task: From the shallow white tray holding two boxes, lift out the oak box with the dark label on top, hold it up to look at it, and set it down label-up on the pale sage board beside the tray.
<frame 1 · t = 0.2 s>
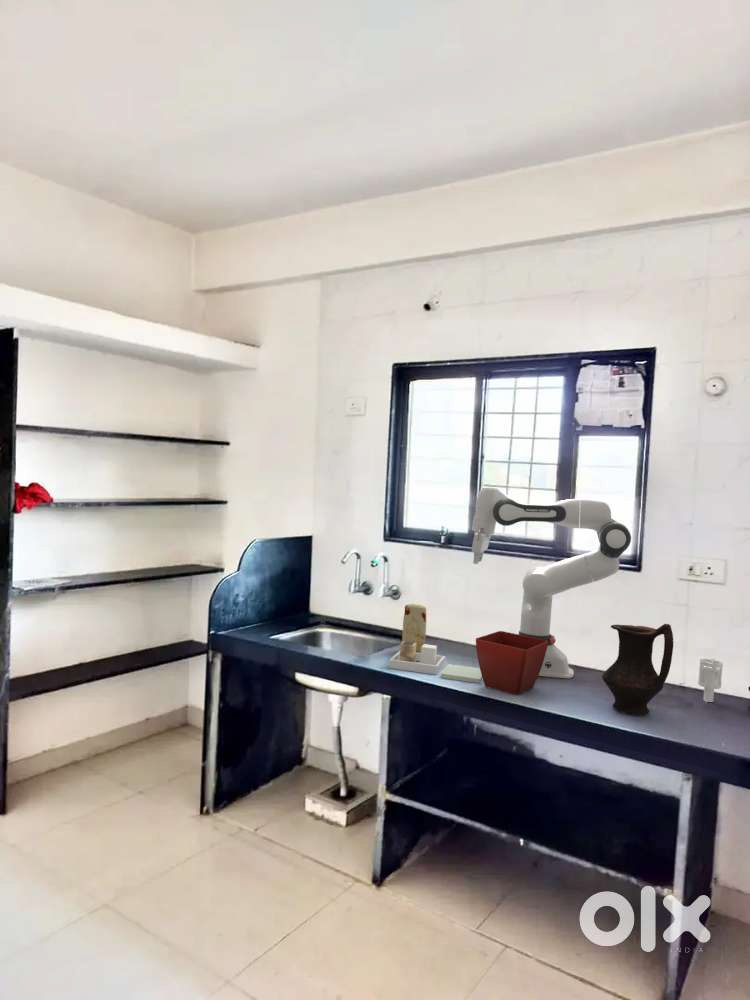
hand: (477, 562, 269), 39 cm above the table, tool pointing down, fingers open, 8 cm apart
jug: (633, 712, 220), on the table
sage board: (463, 675, 249), on the table
labelled oak box: (407, 664, 259), resting in shallow white tray
food model: (412, 653, 277), on the table
shallow white tray: (417, 665, 258), on the table
plant pot: (508, 688, 238), on the table
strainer: (708, 702, 236), on the table
plain white box: (427, 667, 257), resting in shallow white tray
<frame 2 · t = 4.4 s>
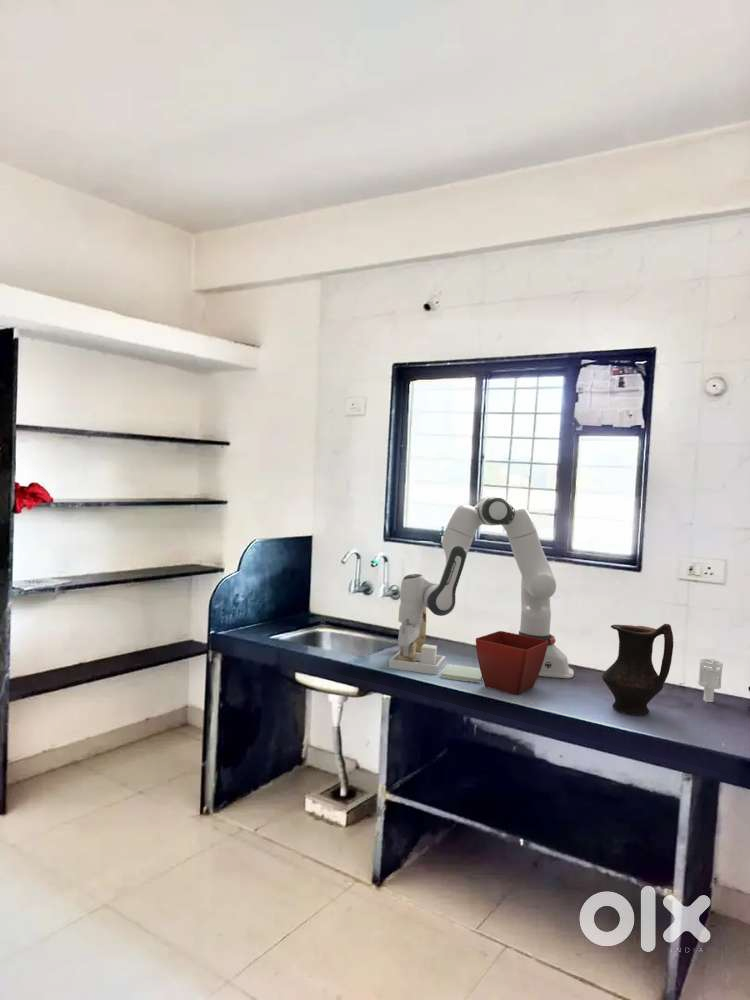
hand: (407, 653, 259), 4 cm above the table, tool pointing down, fingers closed on labelled oak box, 5 cm apart
labelled oak box: (407, 664, 259), resting in shallow white tray, touching gripper
everything else where it was.
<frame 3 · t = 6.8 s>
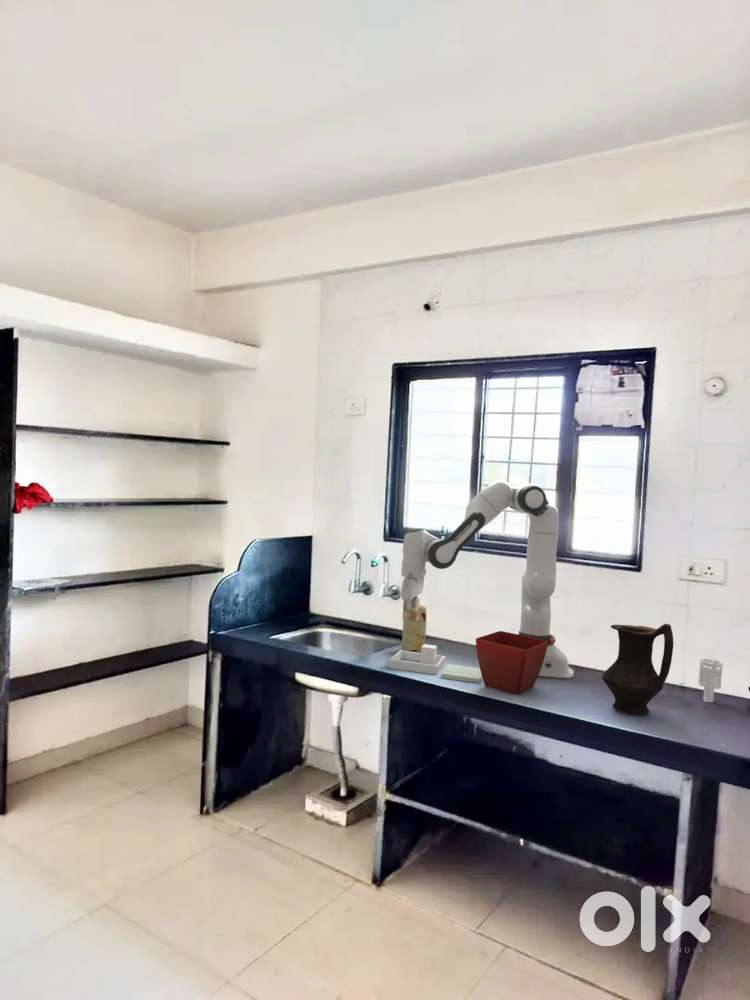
hand: (411, 608, 259), 21 cm above the table, tool pointing down, fingers closed on labelled oak box, 5 cm apart
labelled oak box: (410, 619, 259), point 17 cm above the table, touching gripper
everything else where it was.
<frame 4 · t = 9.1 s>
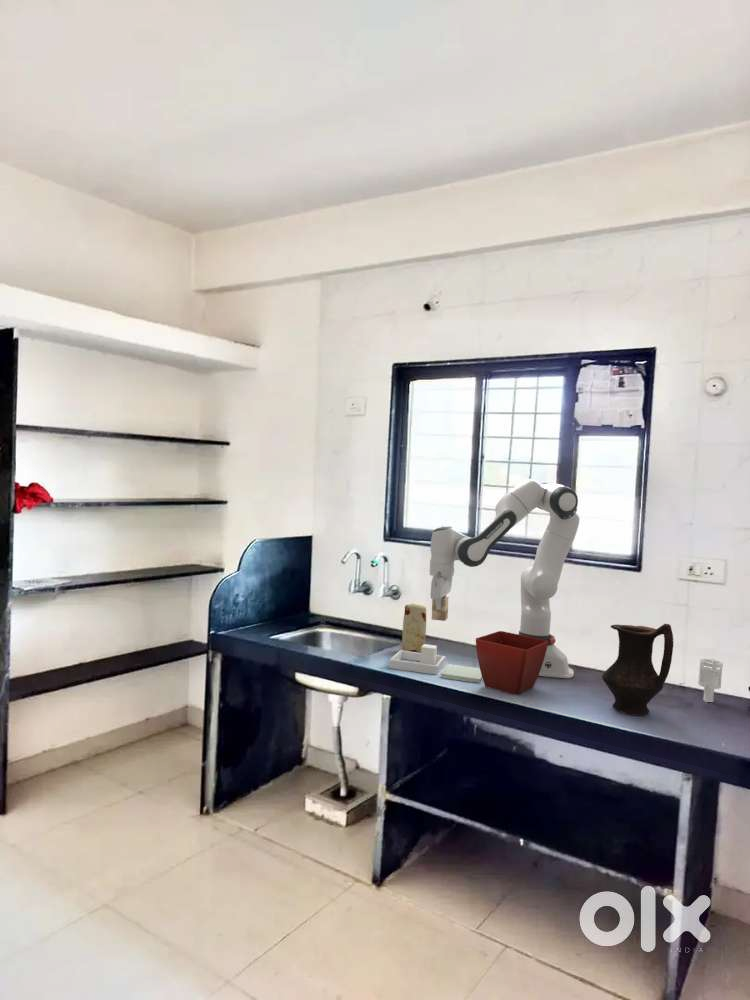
hand: (440, 607, 254), 23 cm above the table, tool pointing down, fingers closed on labelled oak box, 5 cm apart
labelled oak box: (439, 618, 254), point 19 cm above the table, touching gripper
everything else where it was.
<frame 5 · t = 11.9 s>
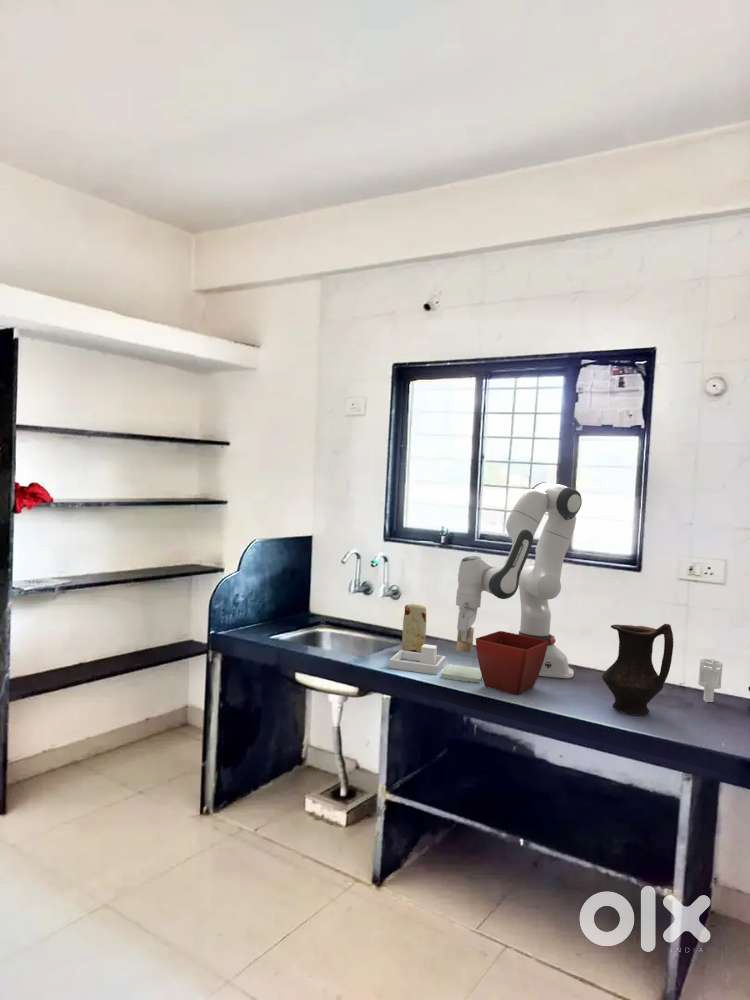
hand: (465, 639, 249), 13 cm above the table, tool pointing down, fingers closed on labelled oak box, 5 cm apart
labelled oak box: (464, 650, 249), point 9 cm above the table, touching gripper
everything else where it was.
when the fingers open (7 cm above the table, at t = 14.0 s): labelled oak box drops 1 cm, resting on sage board.
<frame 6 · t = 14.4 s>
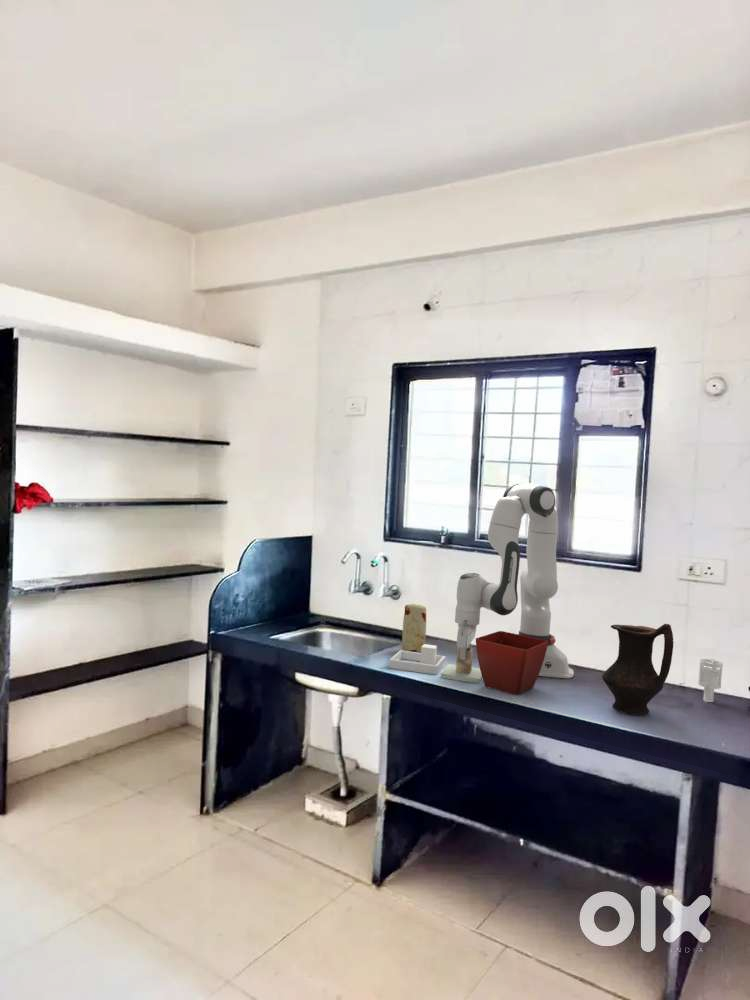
hand: (464, 656, 249), 7 cm above the table, tool pointing down, fingers open, 8 cm apart
labelled oak box: (463, 671, 249), point 1 cm above the table, touching sage board
everything else where it was.
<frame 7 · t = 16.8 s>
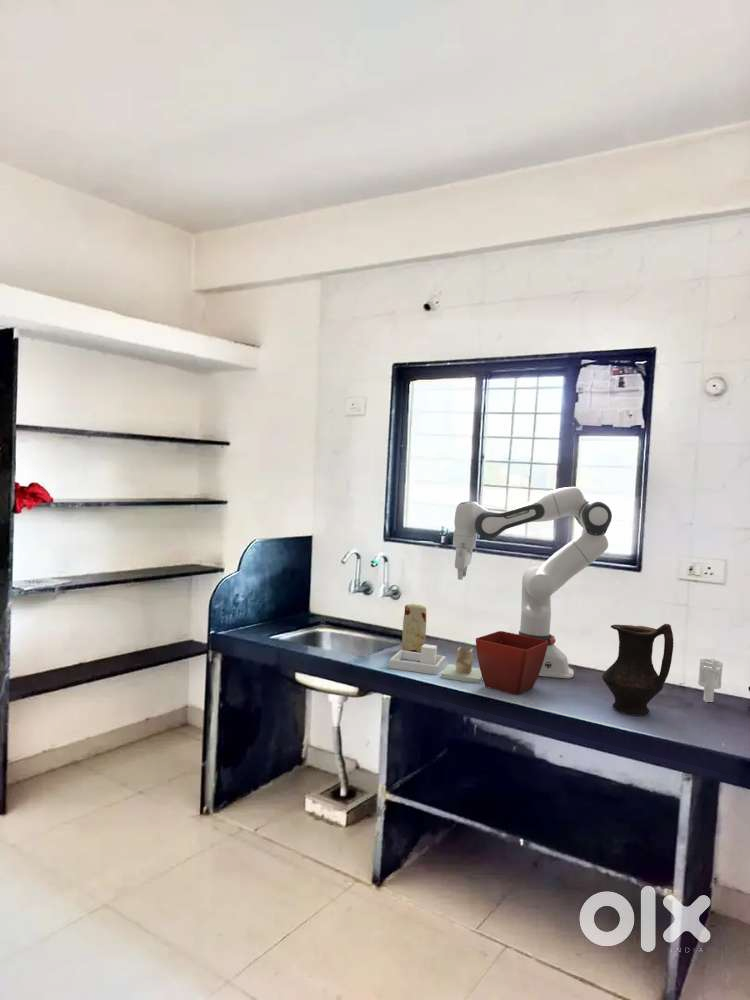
hand: (461, 577, 268), 33 cm above the table, tool pointing down, fingers open, 8 cm apart
nothing on the table moved.
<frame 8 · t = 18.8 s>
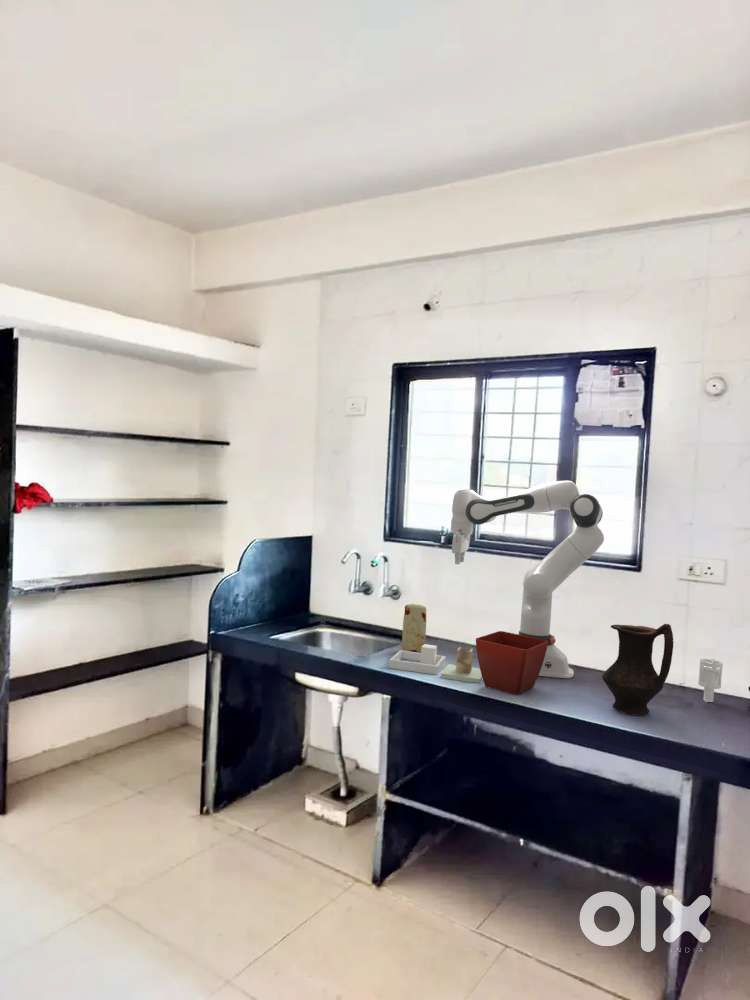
hand: (459, 563, 279), 37 cm above the table, tool pointing down, fingers open, 8 cm apart
nothing on the table moved.
at the end: labelled oak box inside the target area on the sage board (0.0 cm from its centre), point 1.5 cm above the sage board's base; labelled oak box tilted 0°; plain white box moved 0.1 cm from its start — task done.
